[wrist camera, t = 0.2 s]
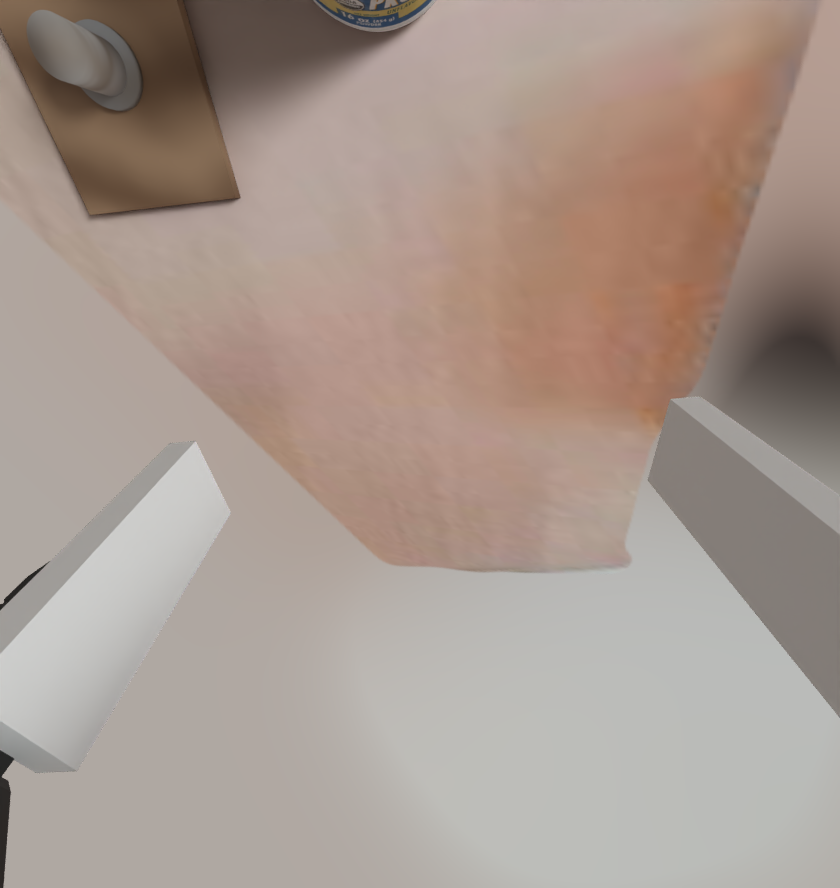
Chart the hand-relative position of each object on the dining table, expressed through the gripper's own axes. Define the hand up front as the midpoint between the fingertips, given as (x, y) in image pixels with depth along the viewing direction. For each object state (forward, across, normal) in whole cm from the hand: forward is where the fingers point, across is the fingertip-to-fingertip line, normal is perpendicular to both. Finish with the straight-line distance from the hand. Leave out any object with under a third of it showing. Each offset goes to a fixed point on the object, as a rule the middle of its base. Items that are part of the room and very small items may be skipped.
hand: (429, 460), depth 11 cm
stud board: (+28, -20, +16) cm, 38 cm away
